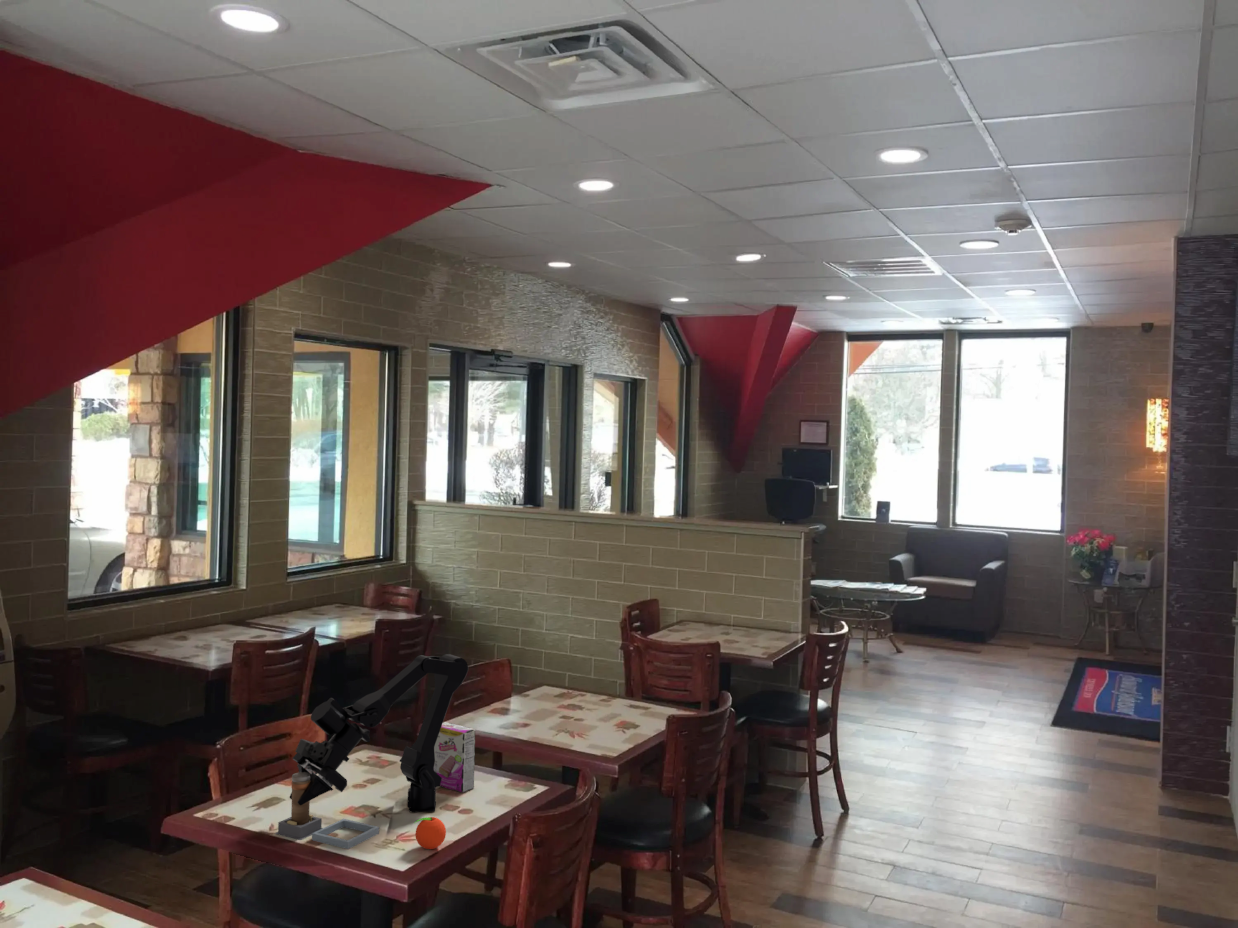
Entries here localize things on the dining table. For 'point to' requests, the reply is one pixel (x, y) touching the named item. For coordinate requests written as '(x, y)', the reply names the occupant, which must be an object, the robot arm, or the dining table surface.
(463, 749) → the candy bar box
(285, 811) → the dining table surface
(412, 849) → the dining table surface
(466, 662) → the robot arm
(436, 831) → the clementine
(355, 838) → the tray
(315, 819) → the socket block
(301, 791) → the peg
